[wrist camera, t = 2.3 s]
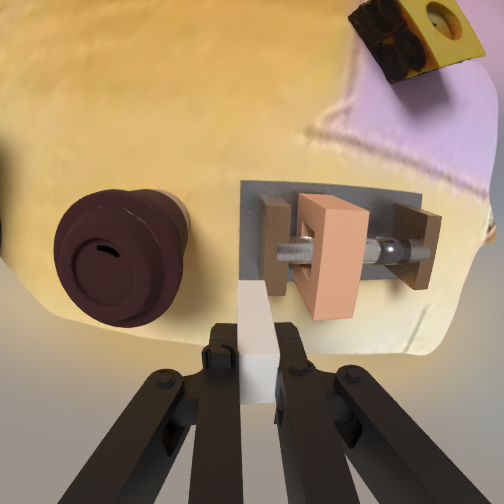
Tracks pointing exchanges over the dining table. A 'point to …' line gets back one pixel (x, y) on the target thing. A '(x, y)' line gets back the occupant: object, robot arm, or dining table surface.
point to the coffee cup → (122, 254)
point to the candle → (415, 35)
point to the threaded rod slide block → (301, 248)
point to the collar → (331, 254)
